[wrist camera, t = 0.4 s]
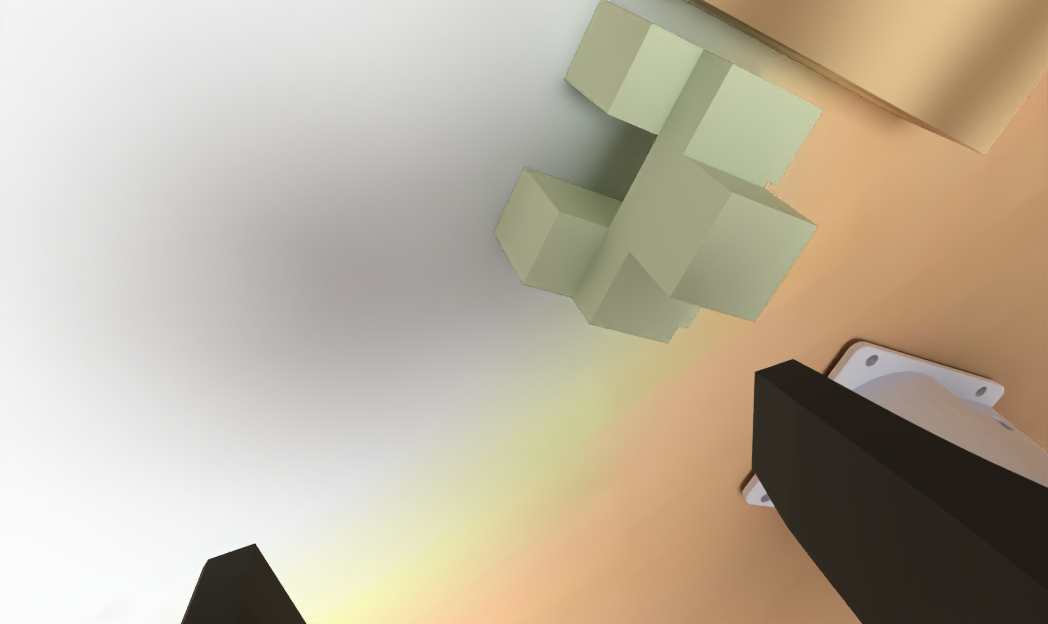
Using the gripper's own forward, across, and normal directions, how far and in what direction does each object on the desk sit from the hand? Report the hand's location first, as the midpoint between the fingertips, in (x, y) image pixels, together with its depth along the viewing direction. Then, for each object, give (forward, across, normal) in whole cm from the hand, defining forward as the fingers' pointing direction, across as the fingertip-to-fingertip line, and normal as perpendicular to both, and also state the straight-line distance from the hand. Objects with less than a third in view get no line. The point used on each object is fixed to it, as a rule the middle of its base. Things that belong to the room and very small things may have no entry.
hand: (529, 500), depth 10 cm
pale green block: (+10, -6, 0) cm, 12 cm away
